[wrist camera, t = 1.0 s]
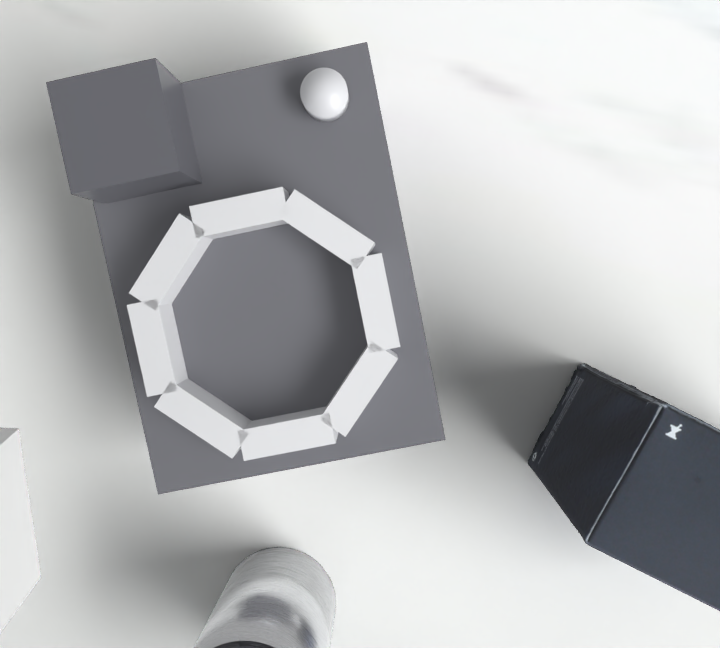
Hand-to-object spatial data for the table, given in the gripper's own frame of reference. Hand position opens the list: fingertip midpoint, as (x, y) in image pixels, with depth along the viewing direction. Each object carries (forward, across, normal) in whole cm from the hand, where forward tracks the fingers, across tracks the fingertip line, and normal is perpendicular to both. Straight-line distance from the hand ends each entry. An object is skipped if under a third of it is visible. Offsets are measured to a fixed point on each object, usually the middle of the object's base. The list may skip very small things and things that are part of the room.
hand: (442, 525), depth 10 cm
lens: (+20, +6, +20) cm, 29 cm away
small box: (+23, -12, +12) cm, 29 cm away
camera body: (+25, +6, +3) cm, 26 cm away
